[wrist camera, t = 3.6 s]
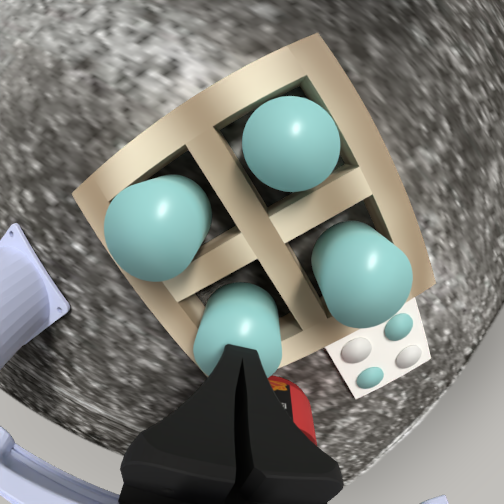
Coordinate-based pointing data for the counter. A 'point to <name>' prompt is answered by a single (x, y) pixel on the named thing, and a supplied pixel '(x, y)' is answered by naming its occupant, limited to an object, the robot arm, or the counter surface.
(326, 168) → the button
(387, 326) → the tile
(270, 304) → the button
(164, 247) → the button
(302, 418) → the canned food
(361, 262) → the button
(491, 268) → the counter surface
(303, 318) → the wooden compartment tray
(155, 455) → the robot arm
